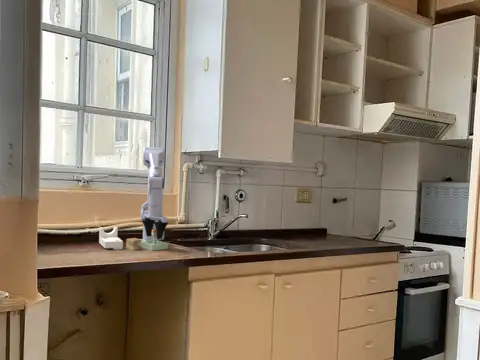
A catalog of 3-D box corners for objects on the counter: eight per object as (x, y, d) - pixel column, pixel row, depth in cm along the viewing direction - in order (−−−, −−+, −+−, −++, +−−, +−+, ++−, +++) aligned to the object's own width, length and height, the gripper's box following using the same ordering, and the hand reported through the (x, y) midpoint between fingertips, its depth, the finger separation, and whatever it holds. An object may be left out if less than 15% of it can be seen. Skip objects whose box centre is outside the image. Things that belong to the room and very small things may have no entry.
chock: (134, 247, 194) (134, 238, 194) (141, 249, 190) (141, 239, 190) (126, 248, 191) (126, 238, 191) (132, 250, 187) (133, 240, 187)
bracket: (98, 244, 197) (99, 227, 197) (115, 244, 200) (116, 226, 200) (104, 250, 185) (105, 231, 185) (122, 249, 189) (123, 231, 188)
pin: (154, 245, 196) (155, 229, 196) (157, 246, 194) (158, 230, 194) (149, 246, 194) (150, 229, 194) (152, 247, 192) (153, 230, 192)
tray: (155, 245, 200) (155, 240, 200) (167, 248, 194) (168, 243, 194) (139, 247, 194) (139, 241, 194) (151, 250, 188) (152, 244, 188)
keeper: (141, 243, 202) (141, 239, 202) (147, 245, 199) (147, 240, 199) (131, 244, 199) (131, 240, 199) (137, 246, 196) (137, 241, 196)
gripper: (137, 203, 196) (136, 235, 196) (157, 207, 186) (156, 240, 186) (151, 203, 201) (150, 234, 201) (171, 206, 191) (170, 239, 191)
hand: (154, 237), depth 194 cm, fingers open, 7 cm apart
